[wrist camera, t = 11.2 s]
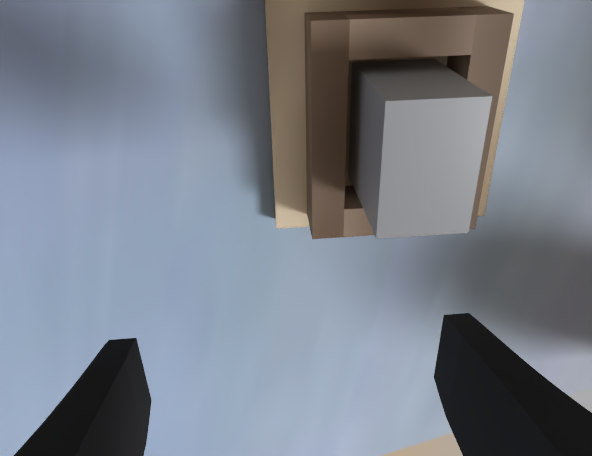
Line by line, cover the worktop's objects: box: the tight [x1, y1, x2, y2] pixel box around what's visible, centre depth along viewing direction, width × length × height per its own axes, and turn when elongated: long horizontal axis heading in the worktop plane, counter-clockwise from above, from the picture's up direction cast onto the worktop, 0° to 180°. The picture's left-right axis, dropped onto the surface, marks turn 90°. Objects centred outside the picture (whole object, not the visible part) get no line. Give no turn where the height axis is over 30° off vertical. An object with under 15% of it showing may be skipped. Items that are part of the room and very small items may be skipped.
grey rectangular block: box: [349, 59, 492, 239], centre depth 17 cm, size 3×4×5 cm
